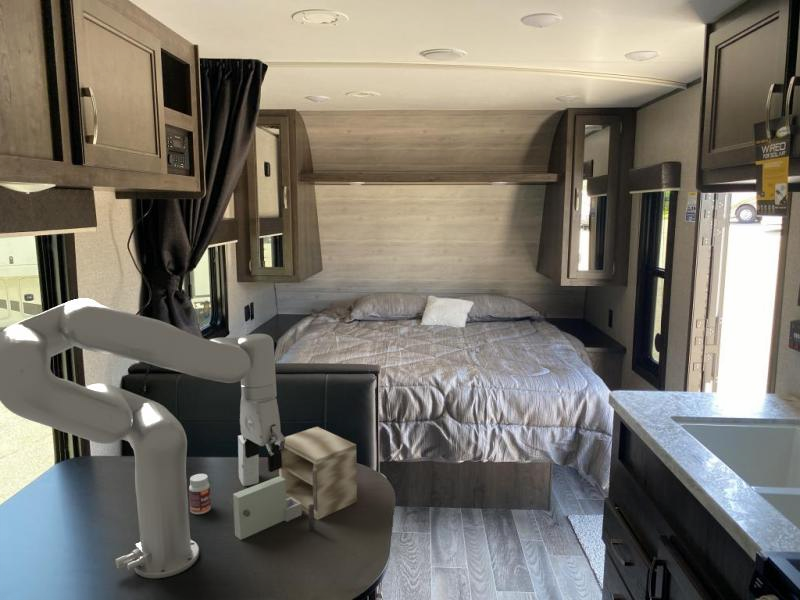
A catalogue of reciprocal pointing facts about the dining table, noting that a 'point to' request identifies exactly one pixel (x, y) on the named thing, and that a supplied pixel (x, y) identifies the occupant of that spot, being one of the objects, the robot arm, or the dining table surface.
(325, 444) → the cabinet
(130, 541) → the dining table surface
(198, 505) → the pill bottle
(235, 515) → the door
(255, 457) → the skincare box
